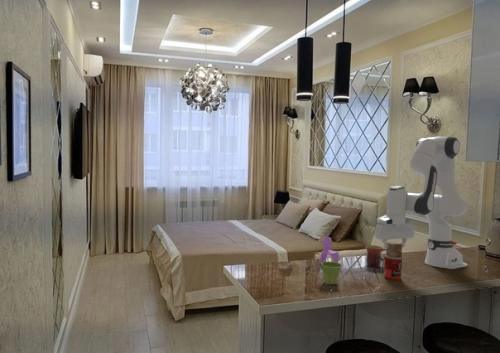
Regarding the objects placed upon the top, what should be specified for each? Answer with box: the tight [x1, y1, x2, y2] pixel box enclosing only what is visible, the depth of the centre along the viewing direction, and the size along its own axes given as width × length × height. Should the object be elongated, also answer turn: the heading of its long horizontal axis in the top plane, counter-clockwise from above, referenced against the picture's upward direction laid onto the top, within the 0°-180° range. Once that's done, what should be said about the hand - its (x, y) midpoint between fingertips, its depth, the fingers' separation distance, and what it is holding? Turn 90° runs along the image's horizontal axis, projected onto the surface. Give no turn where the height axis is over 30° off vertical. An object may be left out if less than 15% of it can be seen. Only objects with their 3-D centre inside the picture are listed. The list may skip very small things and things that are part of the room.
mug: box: [365, 244, 387, 268], centre depth 211 cm, size 12×9×10 cm
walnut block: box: [385, 241, 403, 258], centre depth 190 cm, size 5×5×6 cm
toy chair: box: [318, 236, 340, 265], centre depth 210 cm, size 8×9×15 cm
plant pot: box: [320, 261, 343, 285], centre depth 180 cm, size 9×9×9 cm
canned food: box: [384, 254, 403, 281], centre depth 190 cm, size 8×8×11 cm
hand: (394, 247), depth 190 cm, fingers open, 8 cm apart
